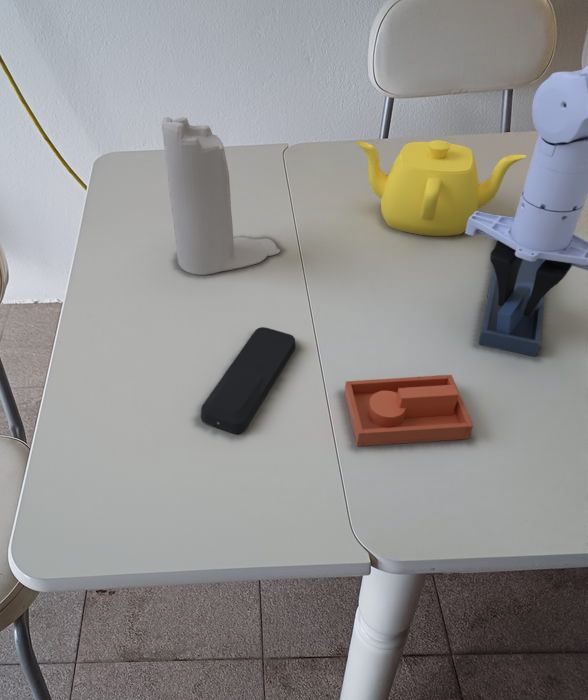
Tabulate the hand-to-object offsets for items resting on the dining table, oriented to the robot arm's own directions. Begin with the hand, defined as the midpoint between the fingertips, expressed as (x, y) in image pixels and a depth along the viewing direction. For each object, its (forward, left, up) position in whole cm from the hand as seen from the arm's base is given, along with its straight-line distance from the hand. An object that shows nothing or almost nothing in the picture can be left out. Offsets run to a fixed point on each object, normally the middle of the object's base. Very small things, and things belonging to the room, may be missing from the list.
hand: (516, 306), depth 72 cm
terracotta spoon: (+5, +18, -3) cm, 19 cm away
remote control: (+21, +22, -4) cm, 31 cm away
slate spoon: (0, -1, -2) cm, 2 cm away
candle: (+36, +3, -4) cm, 37 cm away
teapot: (+16, -18, -4) cm, 25 cm away
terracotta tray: (+5, +18, -3) cm, 19 cm away
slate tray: (+1, -9, -3) cm, 9 cm away
